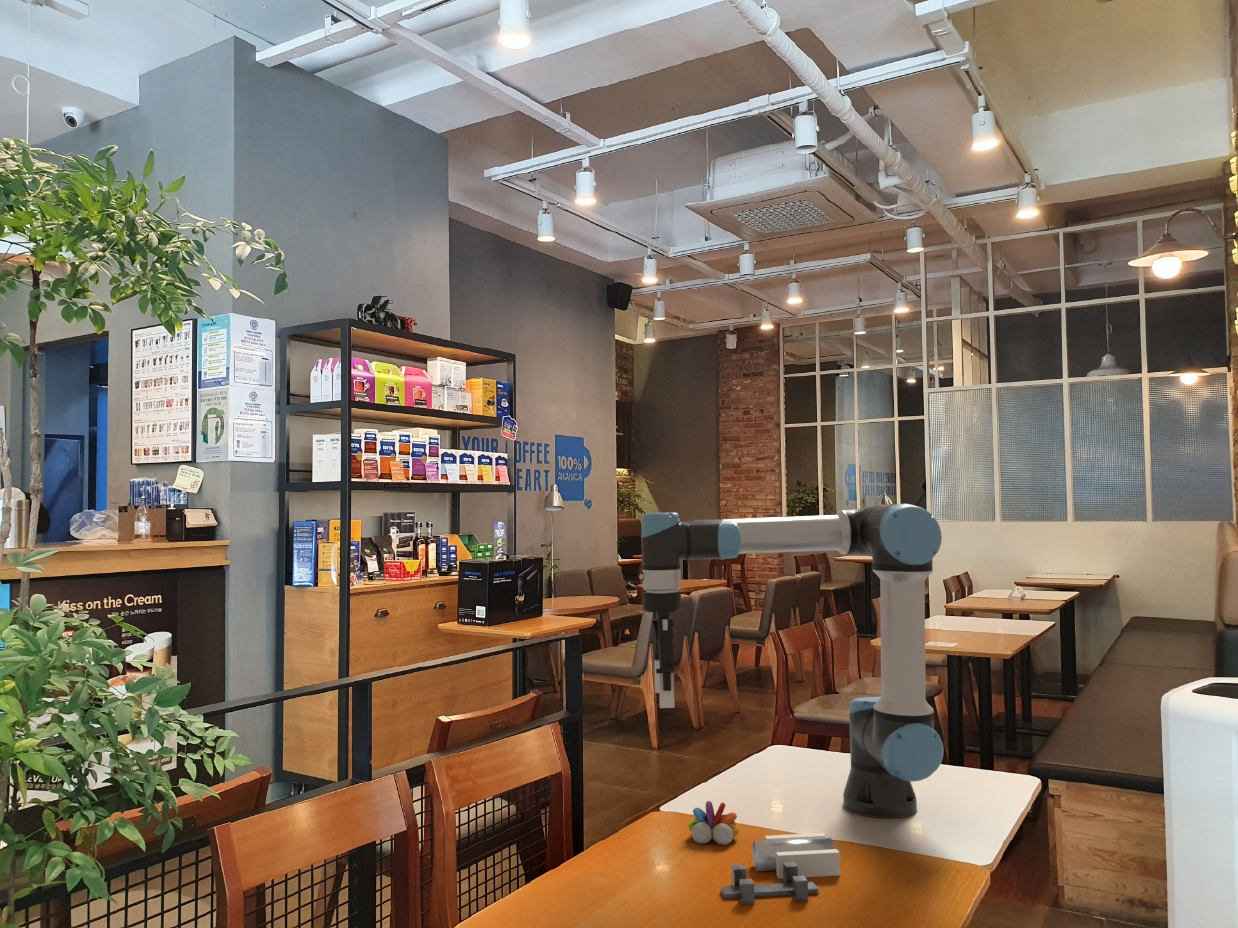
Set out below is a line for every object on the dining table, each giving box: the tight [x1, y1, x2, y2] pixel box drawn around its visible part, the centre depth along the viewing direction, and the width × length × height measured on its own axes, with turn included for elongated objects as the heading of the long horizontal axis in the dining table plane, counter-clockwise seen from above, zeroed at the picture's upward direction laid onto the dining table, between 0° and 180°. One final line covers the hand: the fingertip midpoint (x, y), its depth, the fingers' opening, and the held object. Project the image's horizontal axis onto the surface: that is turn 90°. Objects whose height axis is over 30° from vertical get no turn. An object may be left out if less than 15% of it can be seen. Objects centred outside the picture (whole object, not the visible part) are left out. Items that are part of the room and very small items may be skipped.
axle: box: [751, 836, 836, 872], centre depth 165 cm, size 14×5×5 cm, turn 95°
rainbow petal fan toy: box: [688, 800, 739, 846], centre depth 180 cm, size 8×10×7 cm
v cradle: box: [720, 862, 819, 906], centre depth 154 cm, size 16×8×3 cm, turn 95°
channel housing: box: [764, 832, 841, 880], centre depth 165 cm, size 11×10×4 cm
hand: (664, 699), depth 179 cm, fingers open, 13 cm apart
